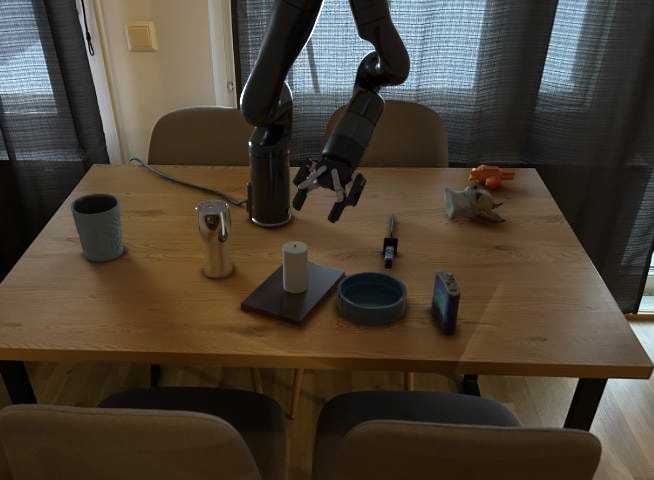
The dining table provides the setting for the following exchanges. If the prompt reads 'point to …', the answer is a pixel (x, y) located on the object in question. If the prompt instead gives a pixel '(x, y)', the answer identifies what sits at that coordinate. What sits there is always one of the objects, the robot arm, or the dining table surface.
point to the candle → (295, 267)
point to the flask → (445, 301)
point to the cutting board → (293, 295)
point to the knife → (390, 249)
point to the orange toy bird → (490, 175)
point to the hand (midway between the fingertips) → (312, 215)
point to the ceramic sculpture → (472, 204)
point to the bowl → (371, 298)
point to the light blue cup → (98, 226)
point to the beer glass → (215, 237)
